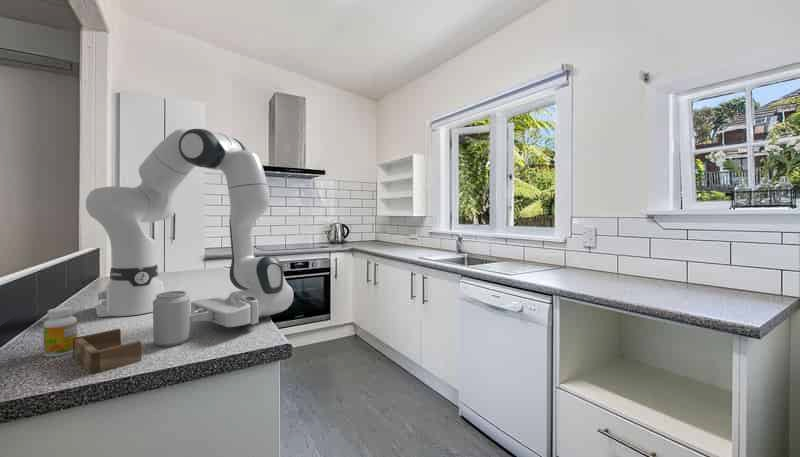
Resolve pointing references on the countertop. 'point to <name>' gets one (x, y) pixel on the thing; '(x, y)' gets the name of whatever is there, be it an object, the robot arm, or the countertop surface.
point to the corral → (105, 351)
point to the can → (171, 318)
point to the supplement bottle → (59, 332)
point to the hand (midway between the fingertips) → (188, 317)
